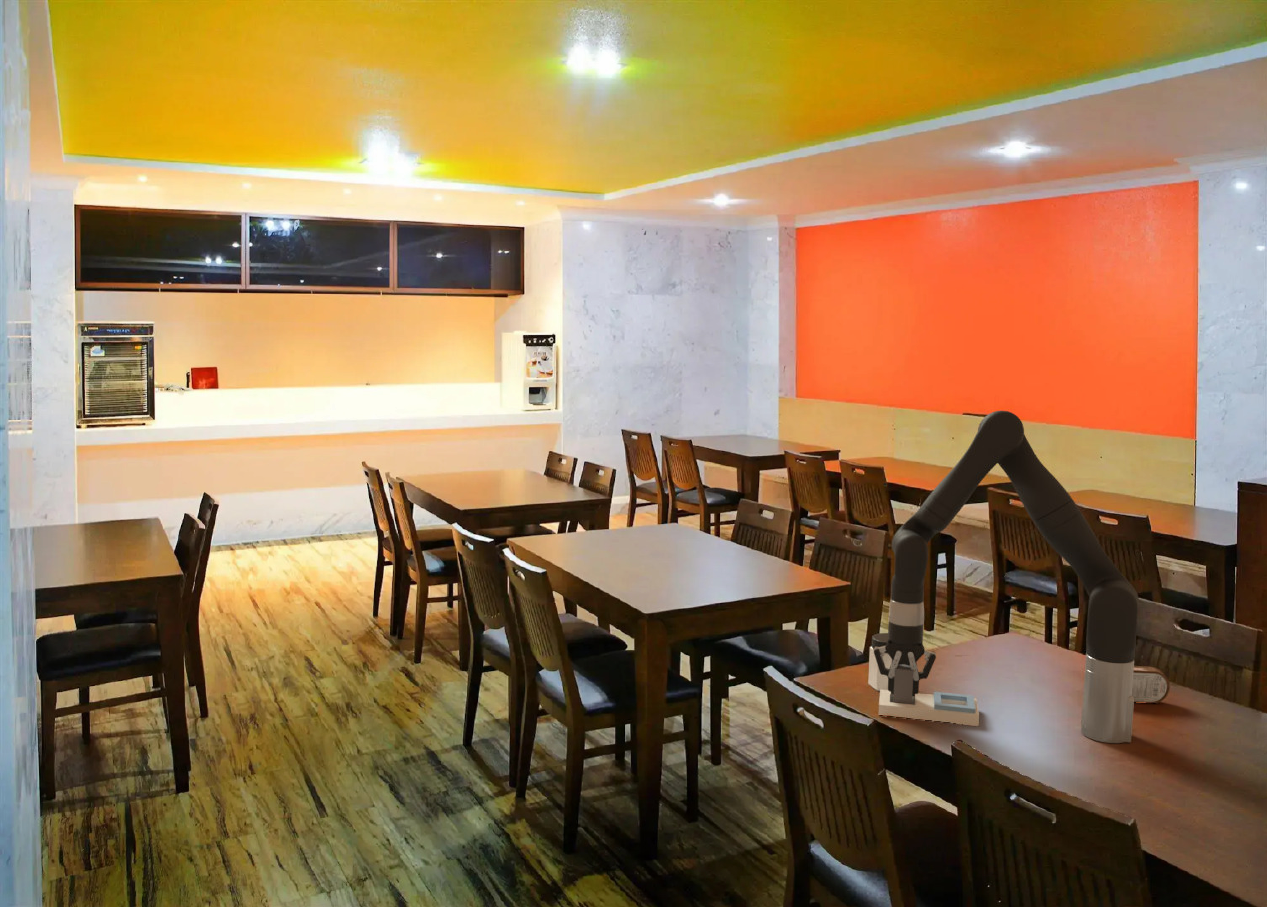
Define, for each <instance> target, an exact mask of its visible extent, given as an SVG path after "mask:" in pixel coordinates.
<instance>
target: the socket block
mask: <svg viewBox="0 0 1267 907" xmlns="http://www.w3.org/2000/svg"><path fill="white" fill-rule="evenodd" d="M893 697H894V694H891V691H888V690H882V689H880V691H879V700H878V701H879V702H878V716H879V715H891V716H899V717H907V718H914V719H913V720H915V719H925V720H932V721H931V722H934V721H943V722H951V723H950V724H953V723H956V724H955V725H962V724H963V725H965V726H973V727H974V726H975V727H979V725H980V722H979V721H980V714H979V713H980V712H979V707H978V701H977V698H974V695H973V694H963V693H951V692H943V691H933V694H930V693H921V692H918V694H915V696H912V704H902V703H893ZM925 720H924V721H925ZM943 722H942V723H943Z"/></svg>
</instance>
